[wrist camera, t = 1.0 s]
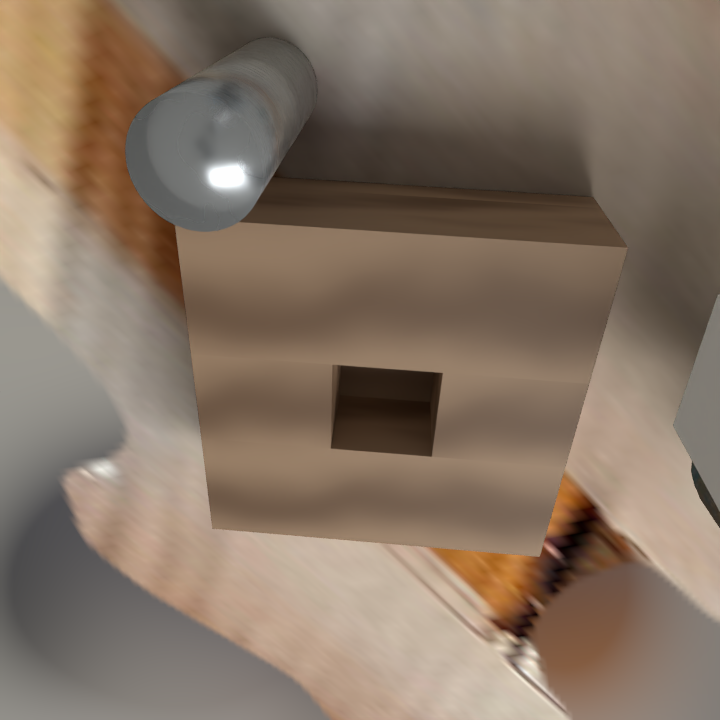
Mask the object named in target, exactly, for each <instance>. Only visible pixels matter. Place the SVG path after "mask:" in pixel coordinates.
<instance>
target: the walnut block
mask: <svg viewBox="0 0 720 720" xmlns="http://www.w3.org/2000/svg"><path fill="white" fill-rule="evenodd" d="M175 230H176V238H177V246H178V254H179V262H180V270H181V278H182V286H183V294H184V302H185V310H186V318H187V327H188V335H189V343H190V351H191V359H192V367H193V375H194V383H195V391H196V399H197V407H198V415H199V424H200V432H201V440H202V448H203V456H204V464H205V472H206V480H207V488H208V496H209V504H210V512H211V521H212V529H224V530H235V531H247V532H259V533H270V534H282V535H293V536H305V537H317V538H328V539H340V540H352V541H363V542H375V543H386V544H398V545H410V546H421V547H433V548H445V549H456V550H468V551H479V552H491V553H503V554H514V555H526V556H538V557H540V553H541V550H542V546H543V543H544V539H545V536H546V532H547V529H548V525H549V522H550V518H551V515H552V512H553V508H554V505H555V501H556V498H557V494H558V491H559V487H560V484H561V480H562V477H563V473H564V470H565V466H566V463H567V459H568V456H569V452H570V449H571V445H572V442H573V438H574V435H575V431H576V428H577V424H578V421H579V417H580V414H581V410H582V407H583V404H584V400H585V397H586V393H587V390H588V386H589V383H590V379H591V376H592V372H593V369H594V365H595V362H596V358H597V355H598V351H599V348H600V344H601V341H602V337H603V334H604V330H605V327H606V323H607V320H608V316H609V313H610V309H611V306H612V302H613V299H614V296H615V292H616V289H617V285H618V282H619V278H620V275H621V271H622V268H623V264H624V261H625V257H626V254H627V250H628V247H627V245H626V244H625V243H624V241H623V240H622V238H621V237H620V235H619V234H618V232H617V231H616V229H615V228H614V227H613V225H612V224H611V222H610V221H609V219H608V218H607V216H606V215H605V214H604V212H603V211H602V209H601V208H600V206H599V205H598V203H597V202H596V200H595V199H594V198H593V197H585V196H569V195H553V194H537V193H522V192H506V191H490V190H474V189H458V188H442V187H426V186H410V185H394V184H378V183H363V182H347V181H331V180H315V179H299V178H283V177H272V178H271V180H270V181H269V183H268V184H267V186H266V188H265V189H264V191H263V192H262V194H261V196H260V197H259V199H258V200H257V202H256V204H255V205H254V207H253V208H252V210H251V211H250V212H249V213H248V214H247V215H246V216H245V217H244V218H243V219H242V220H241V221H239V222H238V223H236V224H234V225H233V226H230V227H228V228H226V229H222V230H218V231H211V232H200V231H192V230H188V229H184V228H182V227H179V226H176V225H175Z"/></svg>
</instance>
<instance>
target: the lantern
mask: <svg viewBox="0 0 720 720" xmlns="http://www.w3.org/2000/svg"><path fill="white" fill-rule="evenodd" d="M691 472H692V477H693V481H694V485H695V488H696V489H697V492H698V494H699V497H700V499H701V501H702V502H703V504H704V505H705V507H706V508H707V510H708V511H709V513H710V514H711V516H712V517H713V519H714V520H715V522H716V523H717V525H718V526H719V528H720V511H719V509H718V507H717V506H716V504H715V502H714V500H713V498H712V496H711V495H710V493H709V491H708V489H707V487H706V485H705V483H704V482H703V480H702V478H701V476H700V474H699V472H698V471H697V469H696V467H695V465H694V463H693V461H692V467H691Z"/></svg>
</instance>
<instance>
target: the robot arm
mask: <svg viewBox="0 0 720 720" xmlns="http://www.w3.org/2000/svg"><path fill="white" fill-rule="evenodd" d="M673 426H674V428H675V430H676V432H677V434H678V435H679V437H680V439H681V441H682V443H683V445H684V447H685V448H686V450H687V452H688V454H689V456H690V458H691V459H692V461H693V463H694V465H695V467H696V469H697V471H698V472H699V474H700V476H701V478H702V480H703V482H704V483H705V485H706V487H707V489H708V491H709V493H710V495H711V496H712V498H713V500H714V502H715V504H716V506H717V507H718V509H719V511H720V294H718V296H717V299H716V302H715V305H714V307H713V310H712V313H711V316H710V319H709V322H708V325H707V328H706V331H705V334H704V337H703V340H702V342H701V345H700V348H699V351H698V354H697V357H696V360H695V363H694V366H693V369H692V372H691V374H690V377H689V380H688V383H687V386H686V389H685V392H684V395H683V398H682V401H681V404H680V407H679V409H678V412H677V415H676V418H675V421H674V424H673Z"/></svg>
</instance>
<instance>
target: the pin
mask: <svg viewBox="0 0 720 720" xmlns="http://www.w3.org/2000/svg"><path fill="white" fill-rule="evenodd" d="M317 91H318V89H317V80H316V76H315V72H314V70H313V67H312V65H311V63H310V62H309V60H308V59H307V57H306V56H305V55H304V54H303V53H302V52H301V51H300V50H299V49H298V48H297V47H296V46H294V45H292V44H291V43H289V42H287V41H285V40H282V39H278V38H260V39H257V40H254V41H252V42H250V43H248V44H246V45H245V46H243V47H241V48H240V49H238V50H236V51H234V52H233V53H231V54H229V55H228V56H226V57H224V58H223V59H221V60H219V61H218V62H216V63H214V64H213V65H211V66H209V67H207V68H206V69H204V70H202V71H201V72H199V73H197V74H196V75H194V76H192V77H191V78H189V79H187V80H186V81H184V82H182V83H181V84H179V85H177V86H175V87H174V88H172V89H170V90H169V91H167V92H165V93H164V94H162V95H160V96H159V97H157V98H155V99H154V100H152V101H151V102H149V103H148V104H146V105H145V106H144V107H143V108H142V109H141V110H140V111H139V112H138V114H137V115H136V116H135V118H134V119H133V121H132V123H131V125H130V128H129V131H128V134H127V139H126V148H125V154H126V163H127V168H128V172H129V175H130V177H131V180H132V182H133V184H134V186H135V188H136V190H137V191H138V193H139V195H140V196H141V198H142V199H143V200H144V201H145V203H146V204H147V205H148V206H149V207H150V208H151V209H152V210H153V211H154V212H156V213H157V214H158V215H159V216H161V217H162V218H164V219H165V220H167V221H168V222H170V223H172V224H174V225H176V226H179V227H182V228H184V229H188V230H192V231H200V232H211V231H218V230H222V229H226V228H228V227H230V226H233V225H234V224H236V223H238V222H239V221H241V220H242V219H243V218H244V217H245V216H246V215H247V214H248V213H249V212H250V211H251V210H252V208H253V207H254V205H255V204H256V202H257V200H258V199H259V197H260V196H261V194H262V192H263V191H264V189H265V188H266V186H267V184H268V183H269V181H270V180H271V178H272V176H273V175H274V173H275V171H276V170H277V168H278V167H279V165H280V163H281V162H282V160H283V159H284V157H285V155H286V154H287V152H288V151H289V149H290V147H291V146H292V144H293V143H294V141H295V139H296V138H297V136H298V134H299V133H300V131H301V130H302V128H303V126H304V125H305V123H306V122H307V120H308V118H309V117H310V115H311V114H312V112H313V109H314V107H315V104H316V100H317Z"/></svg>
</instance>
